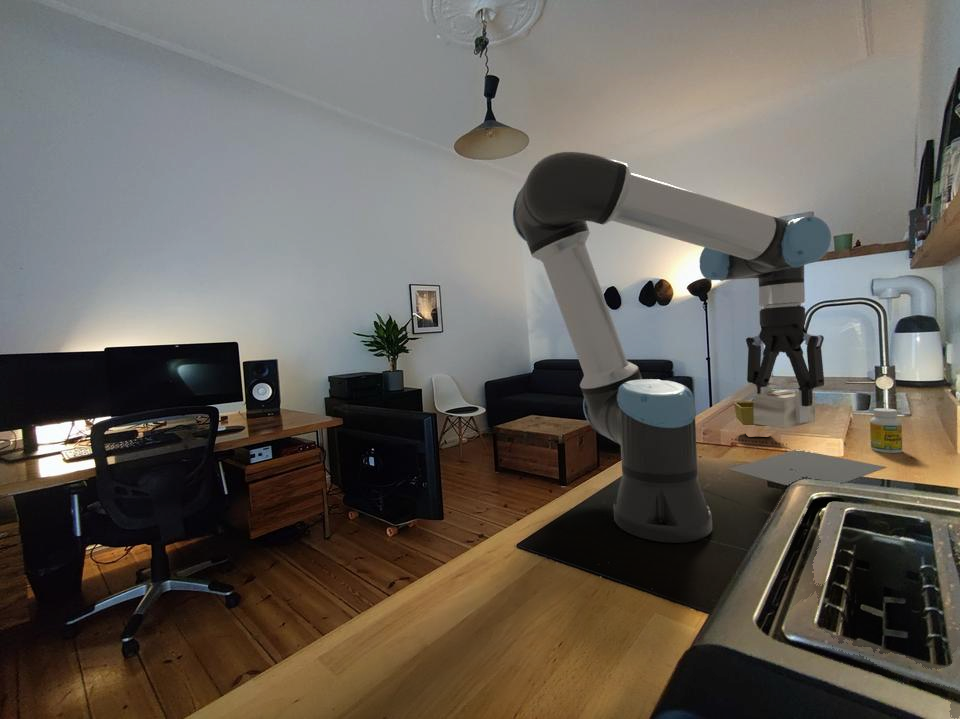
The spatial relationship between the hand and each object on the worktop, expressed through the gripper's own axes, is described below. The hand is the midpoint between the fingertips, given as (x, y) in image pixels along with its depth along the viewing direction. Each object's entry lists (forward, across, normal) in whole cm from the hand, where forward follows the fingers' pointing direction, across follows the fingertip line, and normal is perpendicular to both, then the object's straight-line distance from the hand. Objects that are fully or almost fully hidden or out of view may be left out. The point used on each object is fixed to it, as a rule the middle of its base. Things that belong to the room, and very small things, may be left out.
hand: (784, 419), depth 86 cm
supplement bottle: (+12, -3, -33) cm, 35 cm away
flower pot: (+12, +22, -25) cm, 36 cm away
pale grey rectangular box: (+1, 0, 0) cm, 1 cm away
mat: (+12, 0, -6) cm, 13 cm away
